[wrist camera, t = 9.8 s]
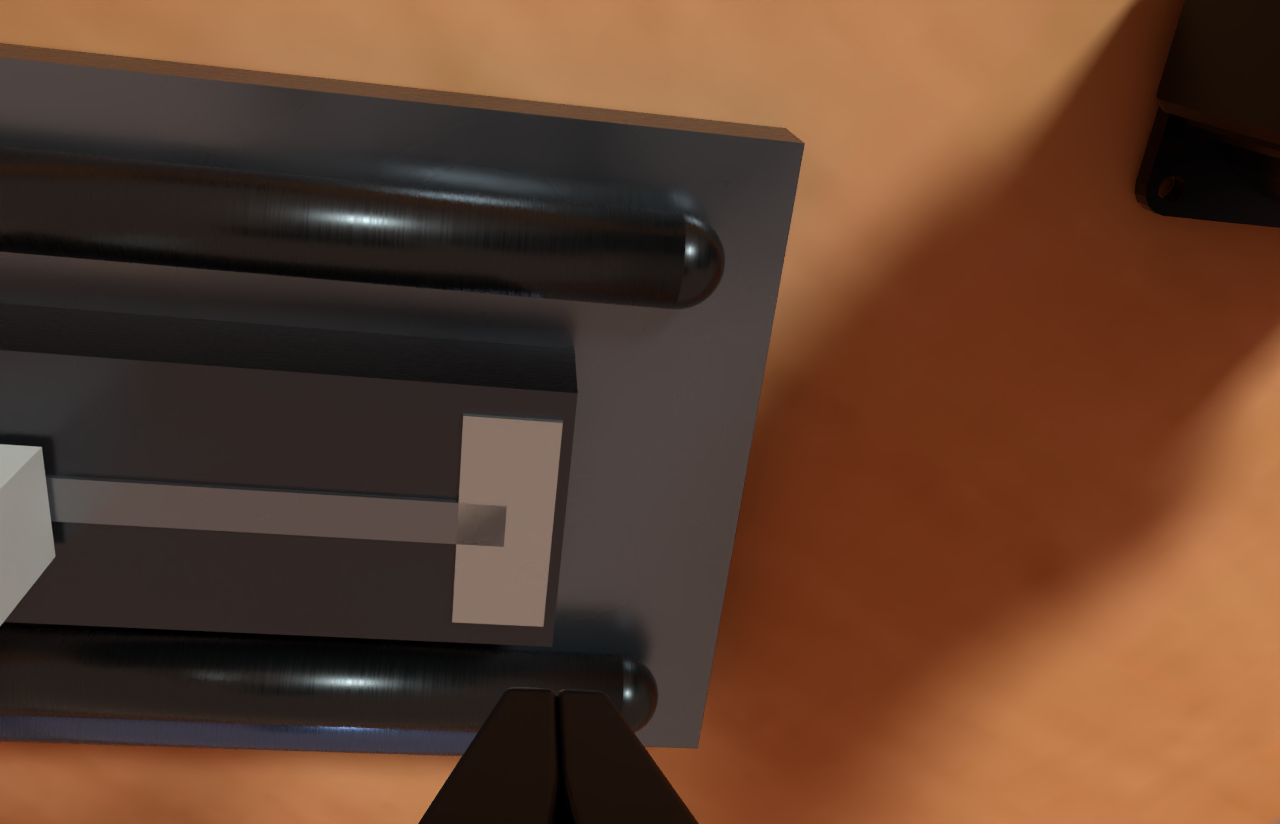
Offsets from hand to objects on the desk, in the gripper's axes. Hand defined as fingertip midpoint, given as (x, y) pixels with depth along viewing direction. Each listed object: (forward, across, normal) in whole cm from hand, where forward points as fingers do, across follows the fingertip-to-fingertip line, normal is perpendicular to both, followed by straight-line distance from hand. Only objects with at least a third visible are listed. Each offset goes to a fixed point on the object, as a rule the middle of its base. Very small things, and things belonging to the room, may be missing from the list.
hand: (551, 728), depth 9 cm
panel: (+12, +5, +3) cm, 13 cm away
